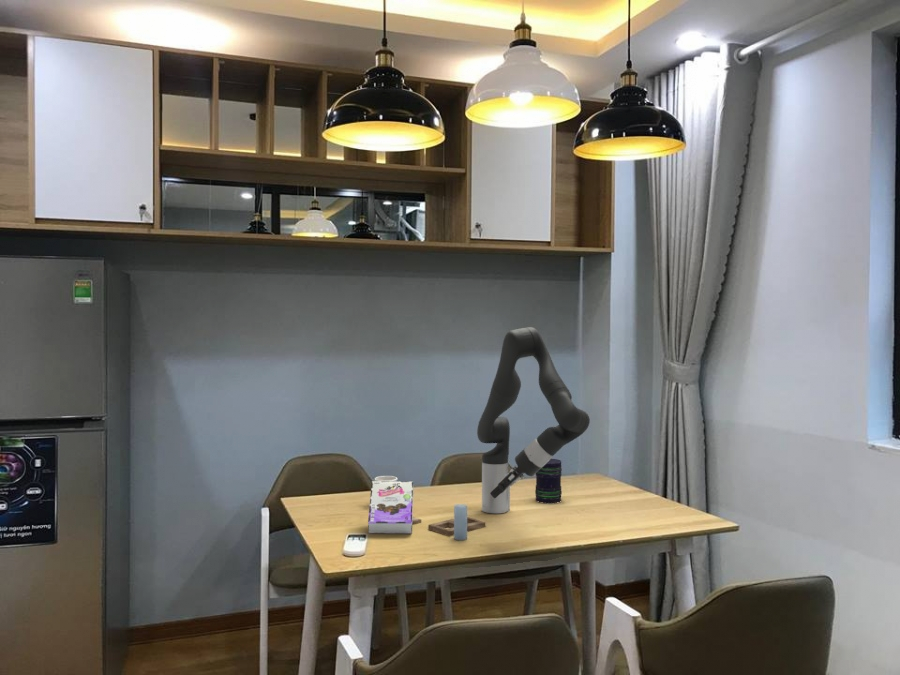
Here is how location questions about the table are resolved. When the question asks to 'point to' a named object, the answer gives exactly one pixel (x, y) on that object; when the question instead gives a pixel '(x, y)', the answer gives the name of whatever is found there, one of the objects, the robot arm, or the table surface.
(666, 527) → the table surface
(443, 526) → the socket board
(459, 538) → the blue pin
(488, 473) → the robot arm
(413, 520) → the strip
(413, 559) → the table surface
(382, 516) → the candy box
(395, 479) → the dixie cup
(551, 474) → the storage jar
